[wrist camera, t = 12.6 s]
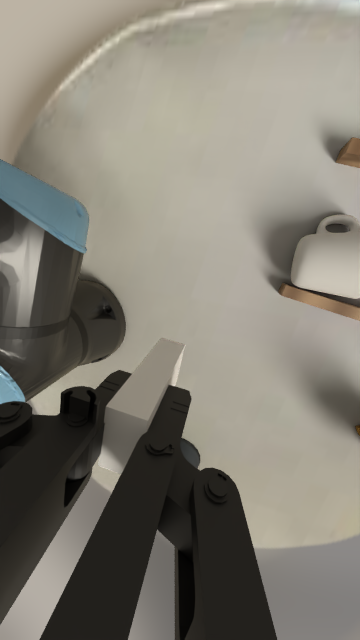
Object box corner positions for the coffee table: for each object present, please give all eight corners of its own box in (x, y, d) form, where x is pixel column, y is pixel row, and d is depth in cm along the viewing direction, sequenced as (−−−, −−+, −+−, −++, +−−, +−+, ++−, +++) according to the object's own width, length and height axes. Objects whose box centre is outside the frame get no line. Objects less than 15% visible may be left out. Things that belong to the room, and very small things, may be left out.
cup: (308, 193, 28) (389, 193, 25) (294, 232, 35) (355, 235, 33) (297, 276, 26) (383, 284, 23) (284, 298, 33) (348, 306, 31)
